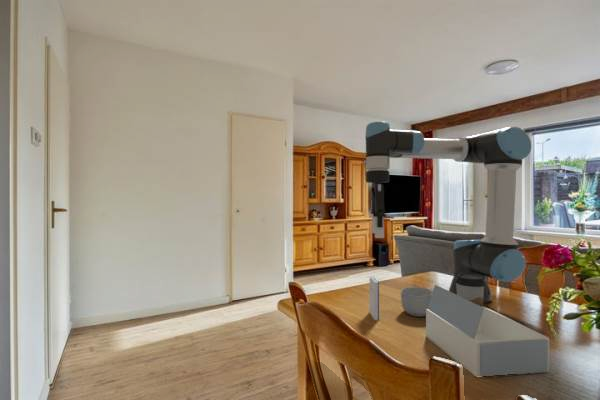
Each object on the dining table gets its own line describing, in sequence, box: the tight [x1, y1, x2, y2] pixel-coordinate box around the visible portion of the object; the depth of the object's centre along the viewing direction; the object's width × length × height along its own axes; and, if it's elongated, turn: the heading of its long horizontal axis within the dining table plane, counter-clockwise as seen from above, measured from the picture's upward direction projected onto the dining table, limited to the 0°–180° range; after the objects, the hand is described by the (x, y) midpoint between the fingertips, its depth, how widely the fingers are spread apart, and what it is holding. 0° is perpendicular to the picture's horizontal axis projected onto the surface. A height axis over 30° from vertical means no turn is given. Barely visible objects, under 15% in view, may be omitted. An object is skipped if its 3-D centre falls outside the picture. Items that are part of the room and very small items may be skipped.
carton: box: [425, 306, 550, 376], centre depth 85 cm, size 19×23×8 cm
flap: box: [428, 284, 484, 339], centre depth 84 cm, size 7×20×1 cm
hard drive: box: [369, 276, 380, 321], centre depth 112 cm, size 2×8×12 cm, turn 0°
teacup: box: [400, 285, 433, 317], centre depth 116 cm, size 14×11×8 cm
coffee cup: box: [456, 274, 485, 307], centre depth 105 cm, size 8×8×15 cm
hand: (377, 235), depth 108 cm, fingers open, 13 cm apart
